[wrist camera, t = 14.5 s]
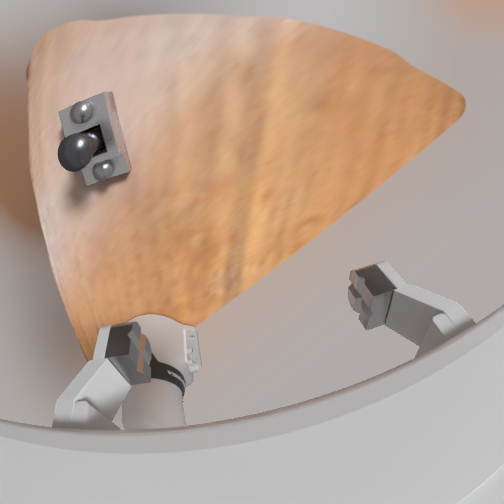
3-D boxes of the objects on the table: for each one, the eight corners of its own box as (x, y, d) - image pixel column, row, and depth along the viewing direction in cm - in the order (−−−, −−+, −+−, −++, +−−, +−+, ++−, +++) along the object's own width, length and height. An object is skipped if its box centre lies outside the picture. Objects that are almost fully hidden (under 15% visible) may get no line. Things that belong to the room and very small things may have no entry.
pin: (116, 146, 35) (95, 164, 27) (90, 156, 34) (64, 176, 26) (109, 118, 32) (84, 128, 24) (83, 128, 32) (53, 142, 24)
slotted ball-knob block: (131, 168, 37) (124, 178, 33) (90, 181, 36) (79, 193, 32) (112, 91, 30) (101, 92, 26) (69, 109, 30) (55, 112, 26)
